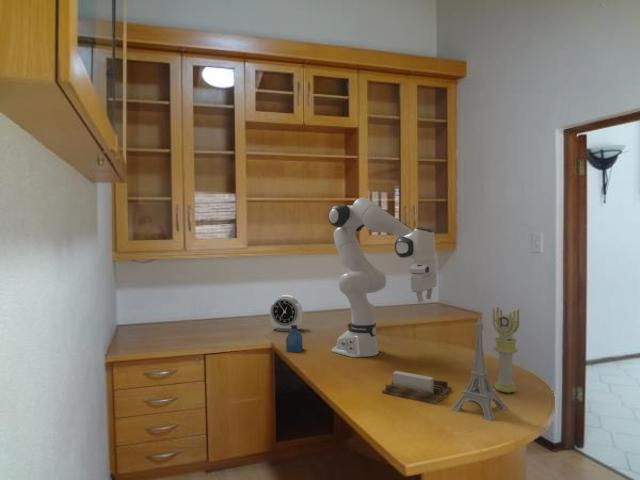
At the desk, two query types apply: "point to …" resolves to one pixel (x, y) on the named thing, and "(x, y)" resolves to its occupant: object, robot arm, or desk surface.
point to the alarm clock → (285, 313)
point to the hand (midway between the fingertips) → (424, 300)
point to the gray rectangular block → (413, 381)
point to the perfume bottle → (294, 340)
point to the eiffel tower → (480, 382)
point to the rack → (420, 392)
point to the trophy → (505, 348)
